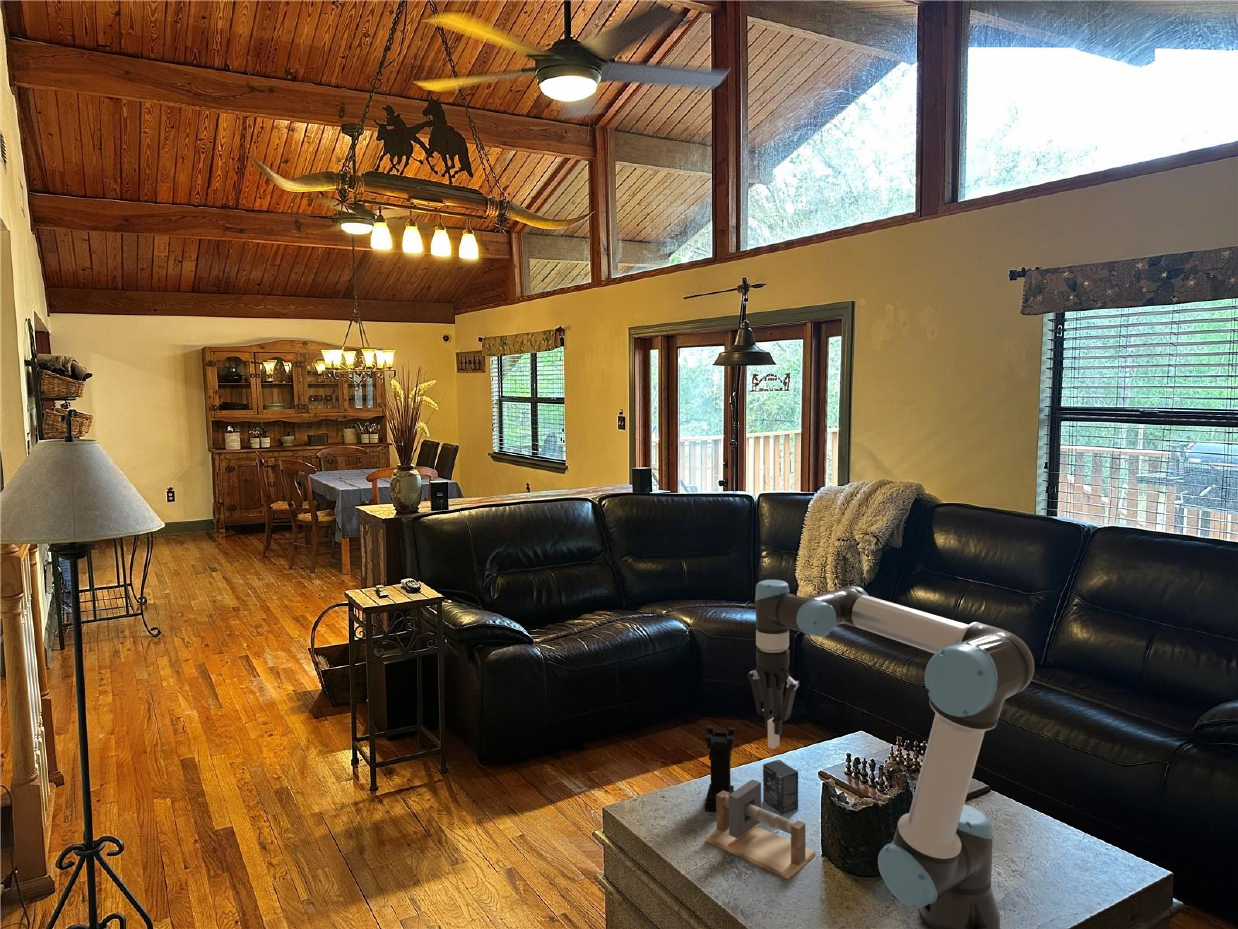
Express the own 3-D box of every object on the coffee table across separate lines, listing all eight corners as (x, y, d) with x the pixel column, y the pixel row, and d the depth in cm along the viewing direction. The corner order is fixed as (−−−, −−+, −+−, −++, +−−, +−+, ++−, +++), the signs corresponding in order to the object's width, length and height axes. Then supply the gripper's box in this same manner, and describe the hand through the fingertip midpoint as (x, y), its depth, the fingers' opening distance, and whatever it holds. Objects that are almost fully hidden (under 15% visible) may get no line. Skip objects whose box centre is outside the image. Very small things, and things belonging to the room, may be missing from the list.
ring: (761, 821, 194) (761, 782, 193) (737, 839, 186) (737, 798, 185) (752, 818, 195) (752, 779, 194) (729, 835, 188) (728, 795, 187)
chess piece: (735, 814, 204) (734, 740, 202) (704, 811, 205) (703, 738, 203) (737, 798, 211) (736, 726, 210) (707, 796, 213) (706, 725, 211)
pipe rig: (815, 855, 185) (815, 814, 184) (788, 879, 176) (788, 836, 175) (734, 820, 201) (733, 782, 200) (705, 841, 192) (705, 801, 191)
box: (762, 802, 209) (762, 763, 208) (779, 796, 212) (779, 758, 211) (781, 815, 203) (781, 776, 202) (799, 810, 205) (798, 771, 204)
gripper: (806, 649, 180) (806, 748, 182) (757, 638, 189) (758, 733, 191) (789, 657, 175) (790, 760, 177) (739, 646, 183) (741, 744, 185)
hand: (773, 746), depth 184 cm, fingers closed
